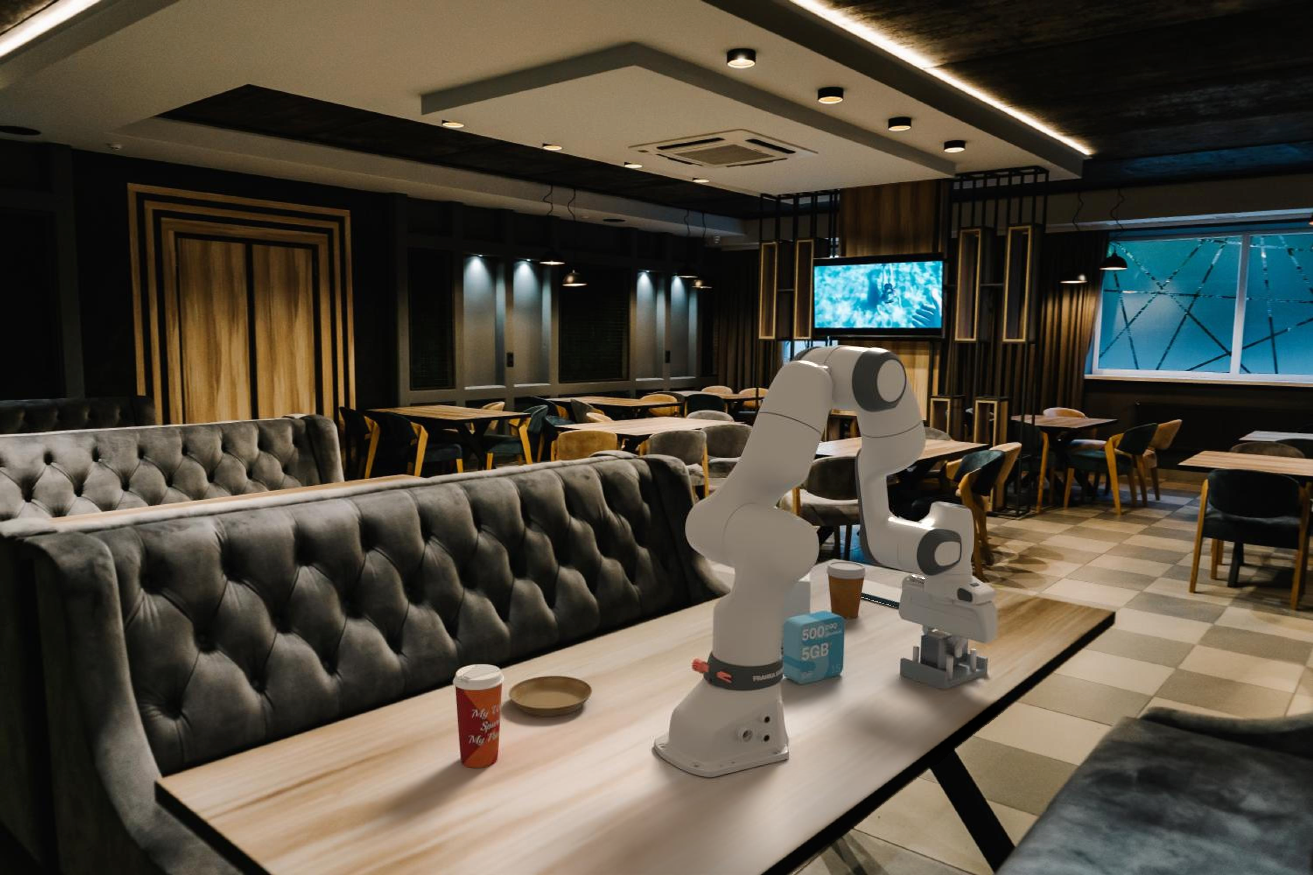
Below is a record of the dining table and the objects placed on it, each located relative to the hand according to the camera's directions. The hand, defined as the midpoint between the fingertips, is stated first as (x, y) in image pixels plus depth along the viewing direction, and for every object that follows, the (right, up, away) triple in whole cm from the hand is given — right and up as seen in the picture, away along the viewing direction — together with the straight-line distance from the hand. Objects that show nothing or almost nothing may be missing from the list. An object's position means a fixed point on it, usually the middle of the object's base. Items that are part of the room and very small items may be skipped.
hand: (944, 652), depth 174 cm
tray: (0, -4, +1) cm, 4 cm away
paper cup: (-84, -7, -38) cm, 92 cm away
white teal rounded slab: (+2, 0, +55) cm, 55 cm away
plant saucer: (-76, -6, -16) cm, 78 cm away
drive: (0, -2, 0) cm, 2 cm away
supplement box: (-28, -2, +18) cm, 34 cm away
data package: (-26, -5, -2) cm, 27 cm away
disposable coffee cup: (-11, -1, +39) cm, 41 cm away
